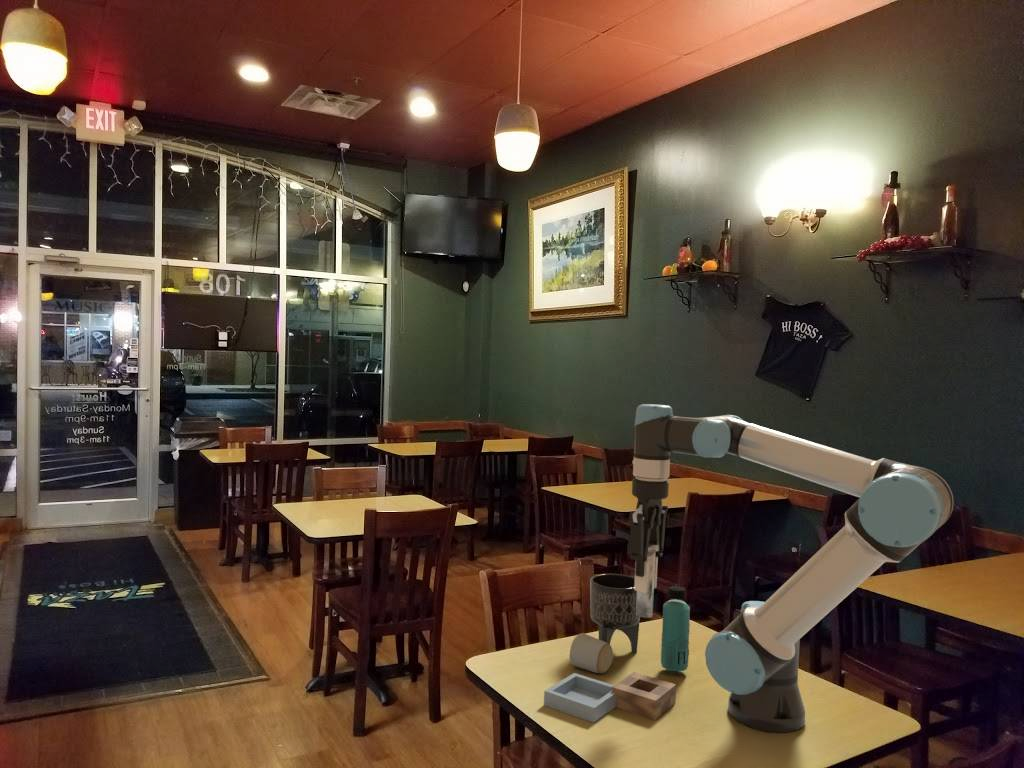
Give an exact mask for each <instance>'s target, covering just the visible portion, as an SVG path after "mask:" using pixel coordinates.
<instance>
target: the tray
mask: <svg viewBox="0 0 1024 768" xmlns="http://www.w3.org/2000/svg"><path fill="white" fill-rule="evenodd" d="M614 685H615V684H610V683H608V682H605V681H601V680H598V679H594V678H592V677H588V676H585V675H583V674H582V675H581V674H579V673H576V672H574V673H571V674H570V675H568V676H567V677H565V678H563V679H562V680H560V681H559V682H557V683H555V684H554V685H552V686H550V687H549V688H546V689H545V690H544V692H543V695H544V696H543V705H544V706H545V707H549V708H550V709H554V710H557V711H559V712H562V713H565V714H568V715H571V716H574V717H576V718H579V719H582V720H585V721H589V722H591V723H596V722H597V721H599V719H601V718H602V717H604V716H605V715H607V714H608V713H609V712H610V711H612V710H613V709H615V708H616V707H615V704H616V693H615V692H612V686H614Z"/></svg>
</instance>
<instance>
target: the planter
mask: <svg viewBox="0 0 1024 768" xmlns="http://www.w3.org/2000/svg"><path fill="white" fill-rule="evenodd" d="M589 582H590V585H589V587H590V588H589V592H590V594H589V595H590V596H589V597H590V598H589V599H590V601H589V602H590V603H589V604H590V607H589V608H590V618H591V620H592V621H593V622H594V623H596V624H597V625H598V639H599V640H602V641H604V642H606V643H608V644H609V645H610V646H611V641H612V637H613V635H614V633H615V632H616V630H618V631H620V632H622V633H624V634H625V635H626V636H627V638H628V641H630V648H631V649H630V651H631V653H632V654H637V653H638V643H639V631H640V619H641V617H639V616H637V615H636V598H637V591H636V590H634V583H635V576H631V575H625V574H620V573H619V574H618V573H603V574H596V575H594V576H592V577H591V578H590V579H589Z"/></svg>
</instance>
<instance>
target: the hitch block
mask: <svg viewBox="0 0 1024 768" xmlns="http://www.w3.org/2000/svg"><path fill="white" fill-rule="evenodd" d="M613 685H614V686H612V692H615V693H616V704H615V708H618V709H620V710H624V711H625V712H629V713H633V714H635V715H639V716H641V717H644V718H647V719H650V720H653V721H656V720H657V719H658V718H659V717H661V716H662V715H663V714H664V713H665V712H667V710H670V708H672V707H673V706H674V705H675V704H676V696H677V695H676V694H677V684H676V683H673V682H668V681H665V680H662V679H659V678H655V677H652V676H649V675H645V674H642V673H639V672H635V671H633V672H632V673H630V674H628V675H627V676H625V677H624V678H622V679H621V680H620V681H618V682H617V683H615V684H613Z"/></svg>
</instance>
